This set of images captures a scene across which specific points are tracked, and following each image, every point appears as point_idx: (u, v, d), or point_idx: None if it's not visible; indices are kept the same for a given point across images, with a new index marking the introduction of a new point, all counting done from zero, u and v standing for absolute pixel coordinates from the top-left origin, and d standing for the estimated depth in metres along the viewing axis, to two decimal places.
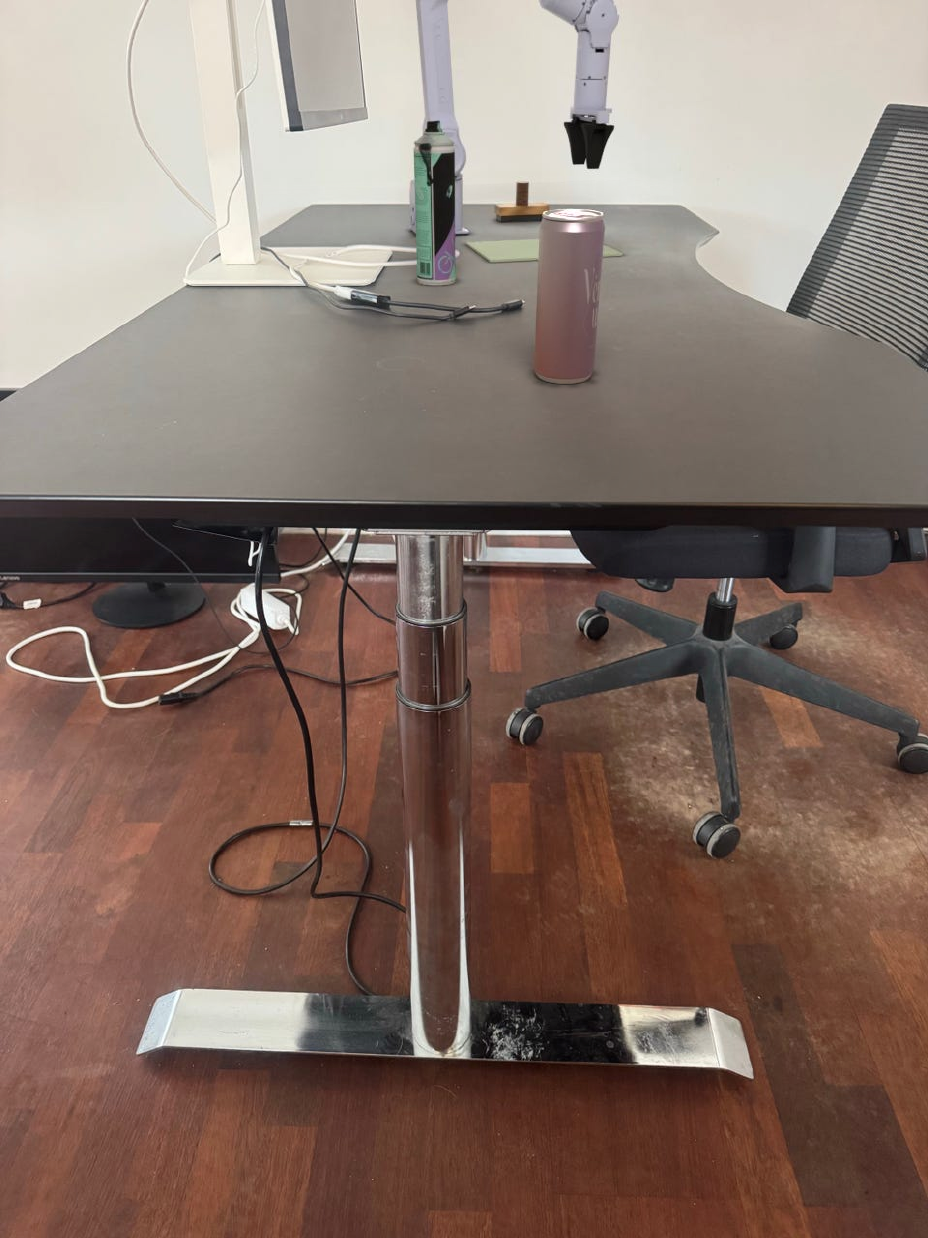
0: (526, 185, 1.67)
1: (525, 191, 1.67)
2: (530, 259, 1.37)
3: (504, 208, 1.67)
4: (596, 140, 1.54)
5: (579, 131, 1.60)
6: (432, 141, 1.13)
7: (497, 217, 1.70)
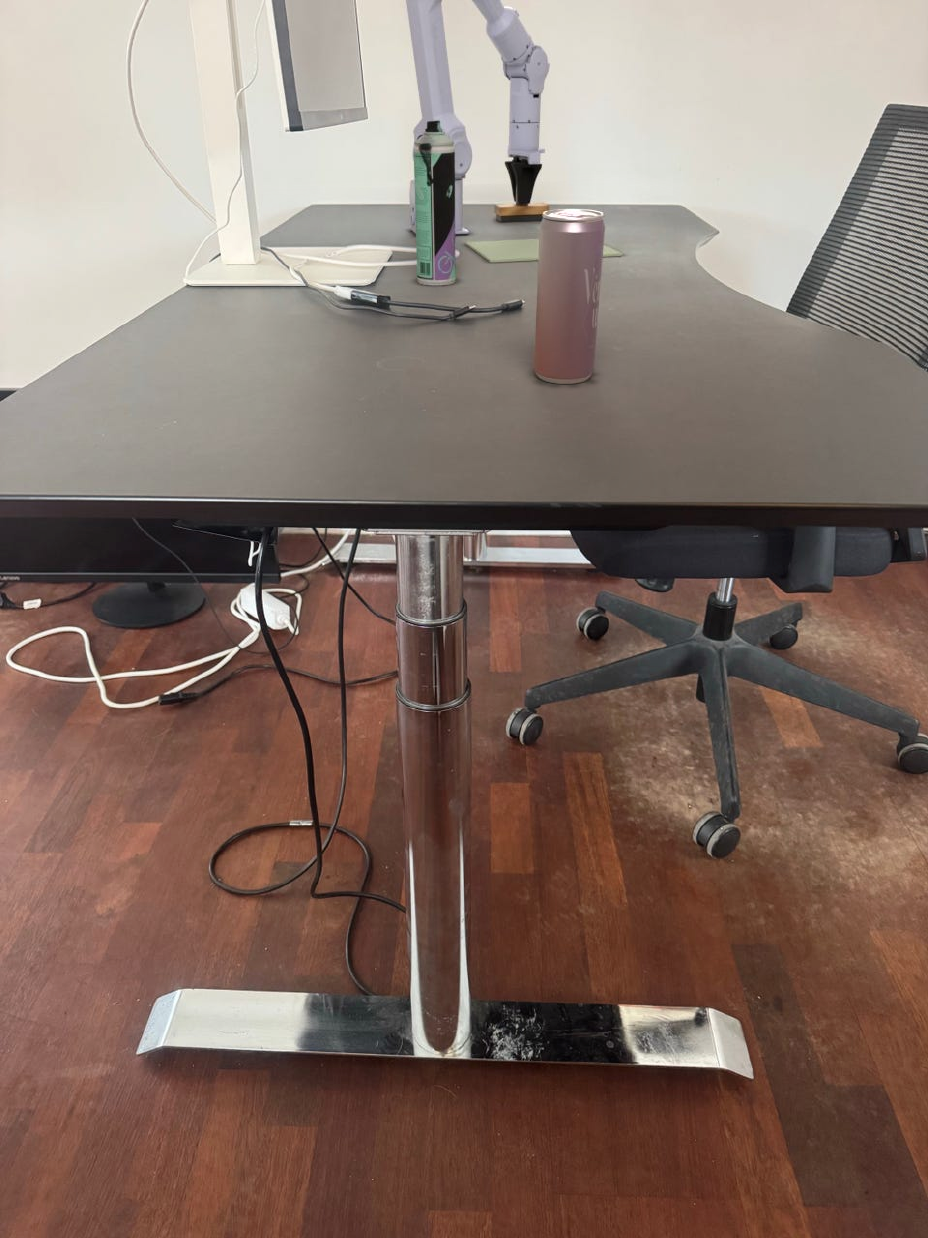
0: None
1: None
2: (530, 259, 1.37)
3: (504, 208, 1.67)
4: (526, 177, 1.65)
5: None
6: (432, 141, 1.13)
7: (497, 217, 1.70)
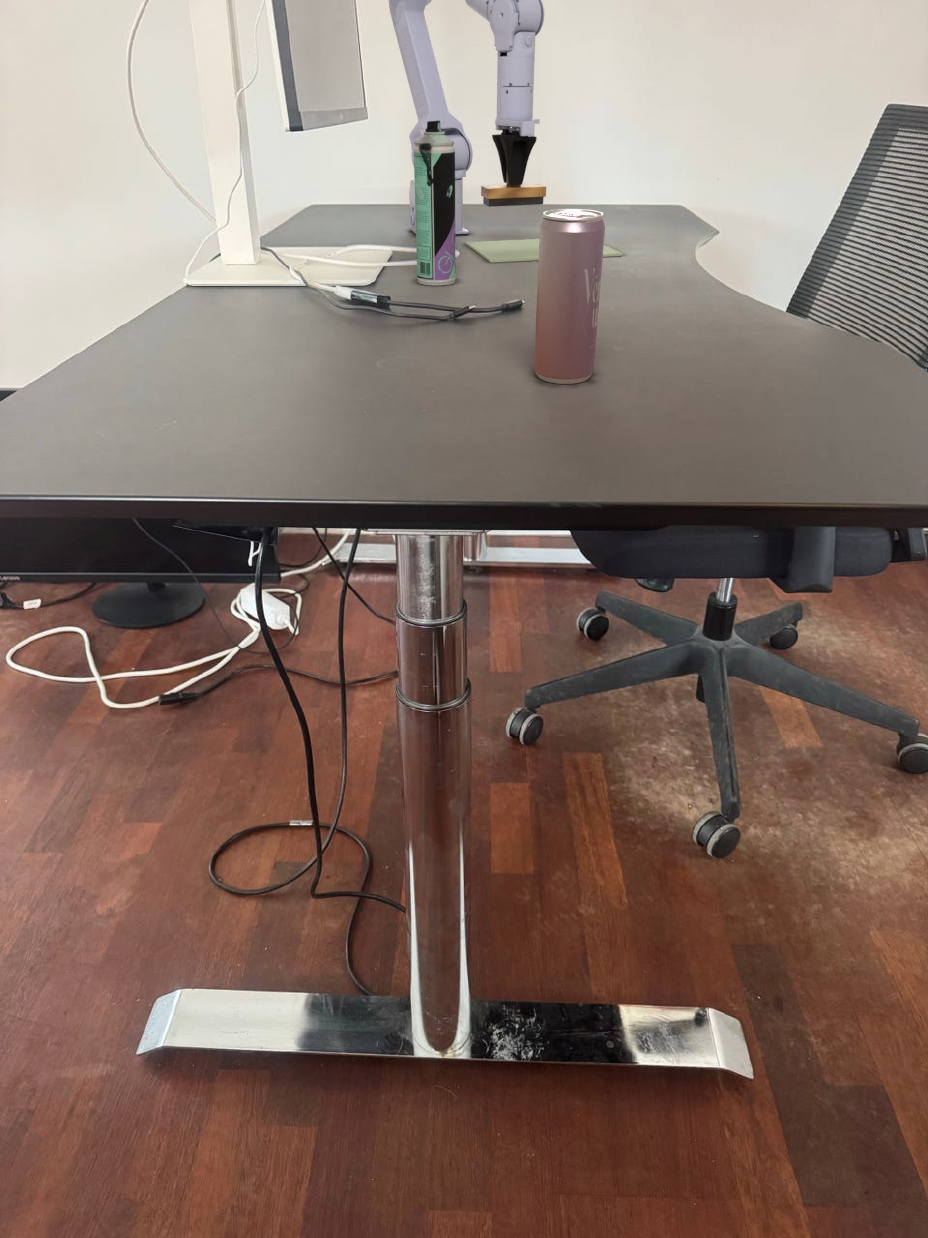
0: None
1: None
2: (530, 259, 1.37)
3: (492, 190, 1.41)
4: (517, 153, 1.39)
5: None
6: (432, 141, 1.13)
7: (484, 201, 1.44)
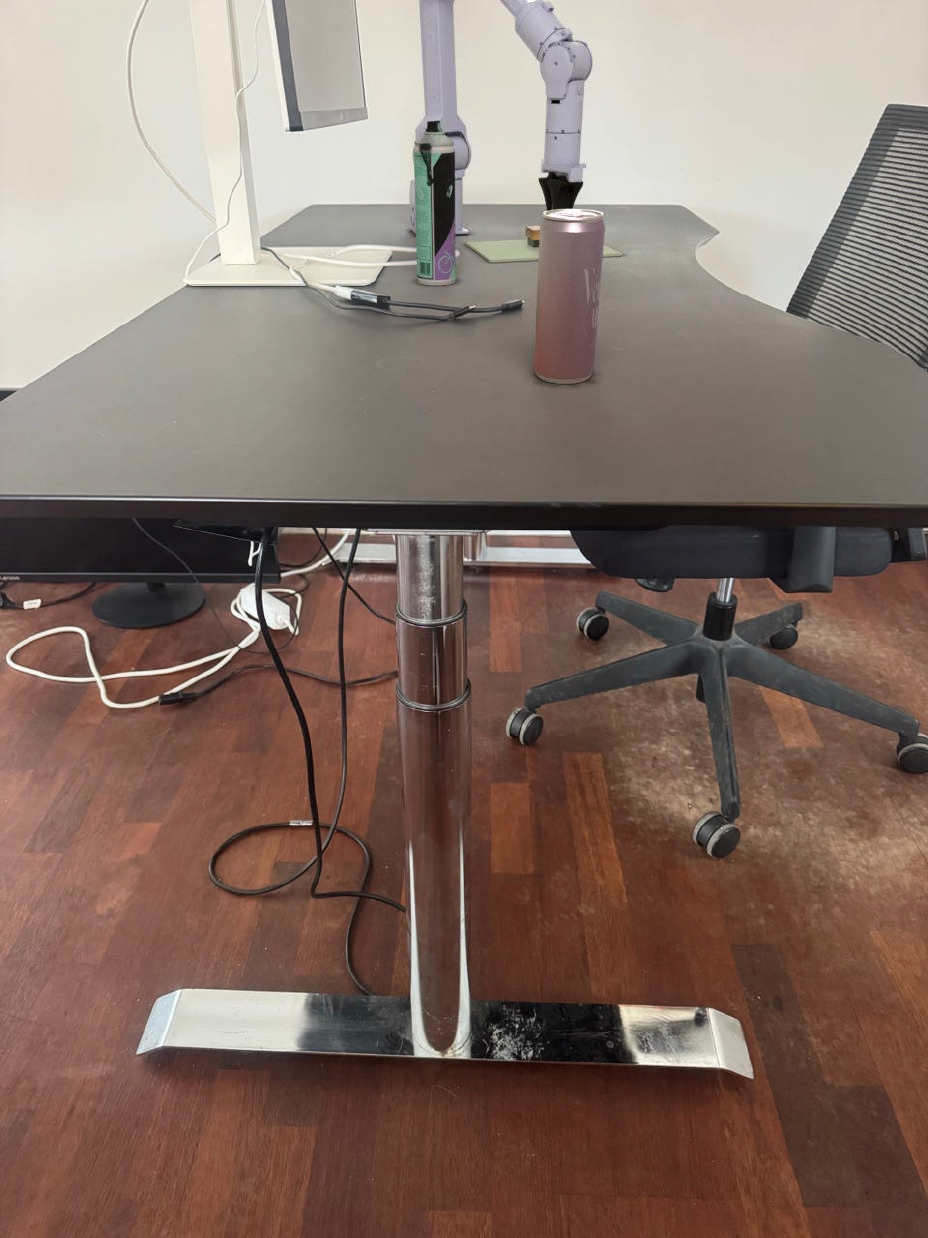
0: None
1: None
2: (530, 259, 1.37)
3: (538, 231, 1.43)
4: (564, 197, 1.41)
5: None
6: (432, 141, 1.13)
7: (529, 241, 1.46)
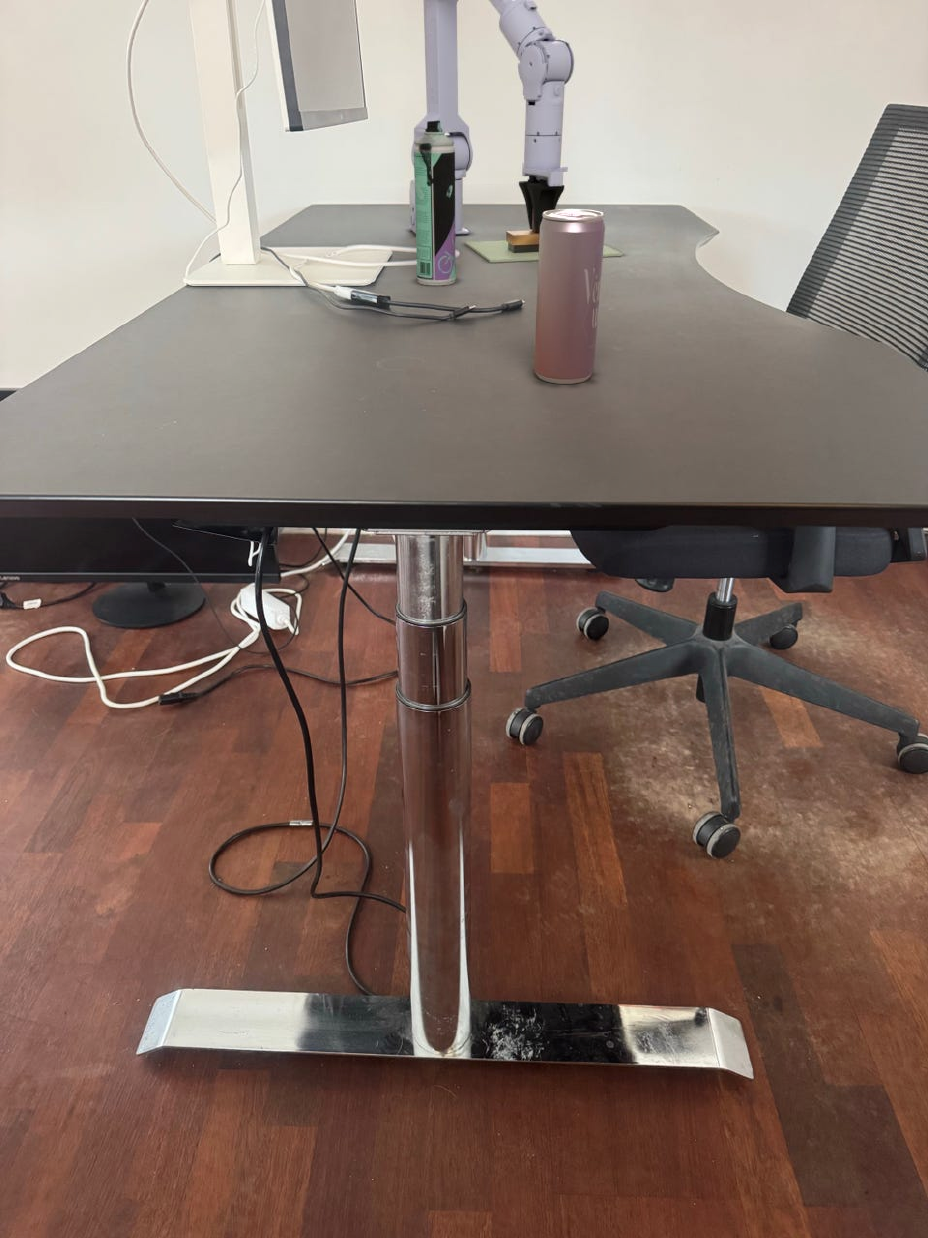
0: None
1: None
2: (530, 259, 1.37)
3: (518, 236, 1.39)
4: (545, 201, 1.37)
5: None
6: (432, 141, 1.13)
7: (509, 246, 1.42)
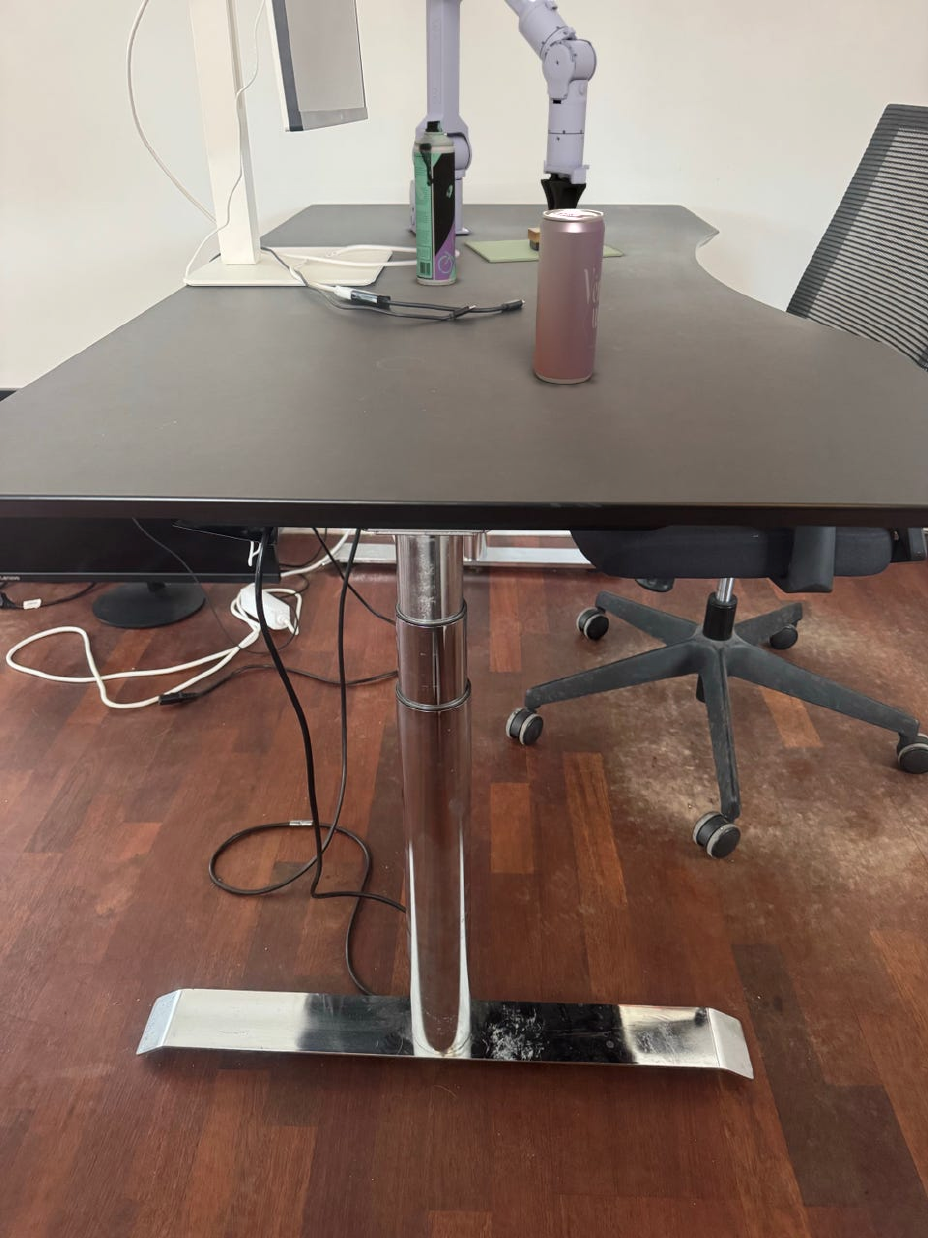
0: None
1: None
2: (530, 259, 1.37)
3: None
4: (567, 199, 1.38)
5: None
6: (432, 141, 1.13)
7: (531, 243, 1.43)
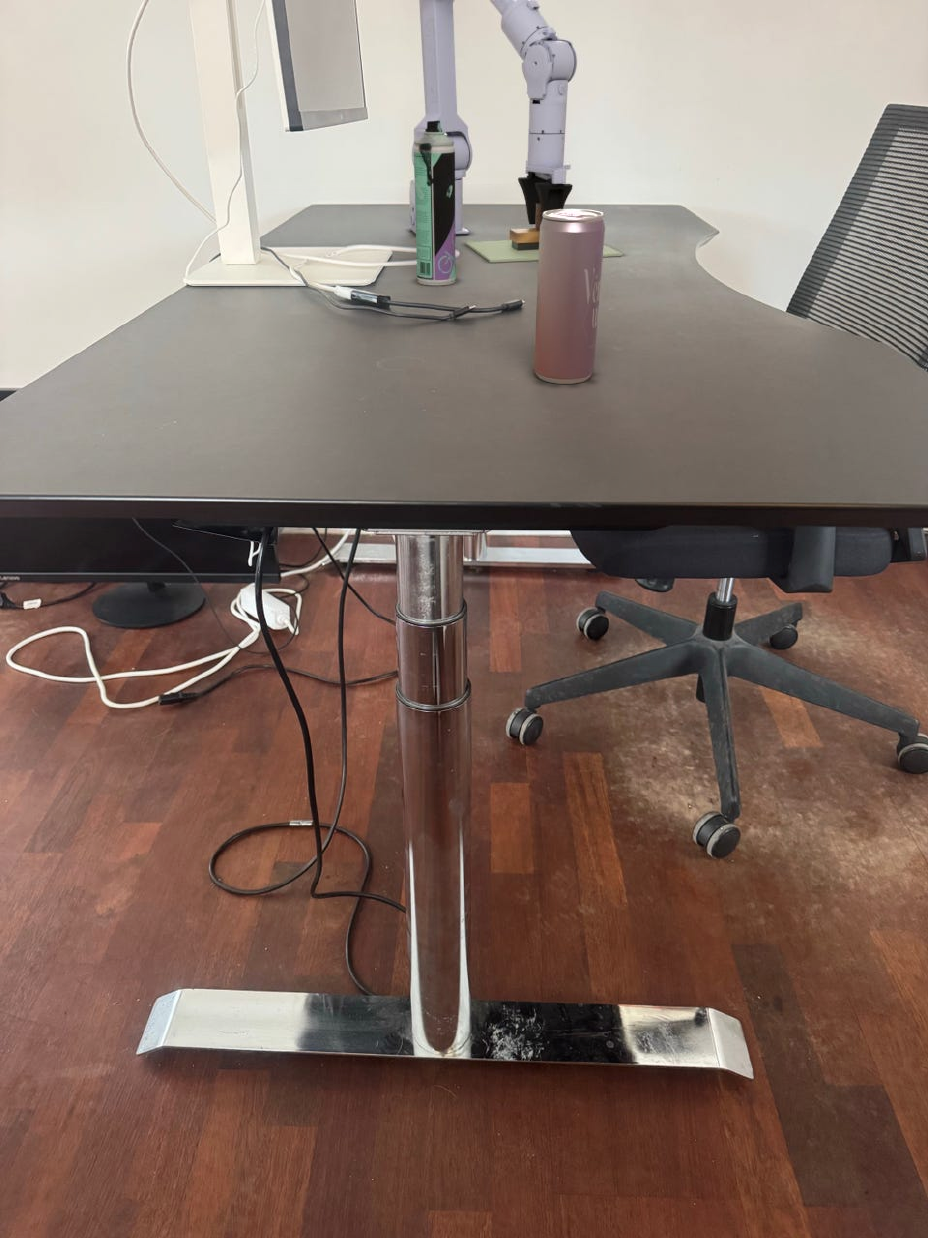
0: None
1: None
2: (530, 259, 1.37)
3: (522, 234, 1.40)
4: (553, 201, 1.37)
5: (535, 188, 1.43)
6: (432, 141, 1.13)
7: (513, 244, 1.44)
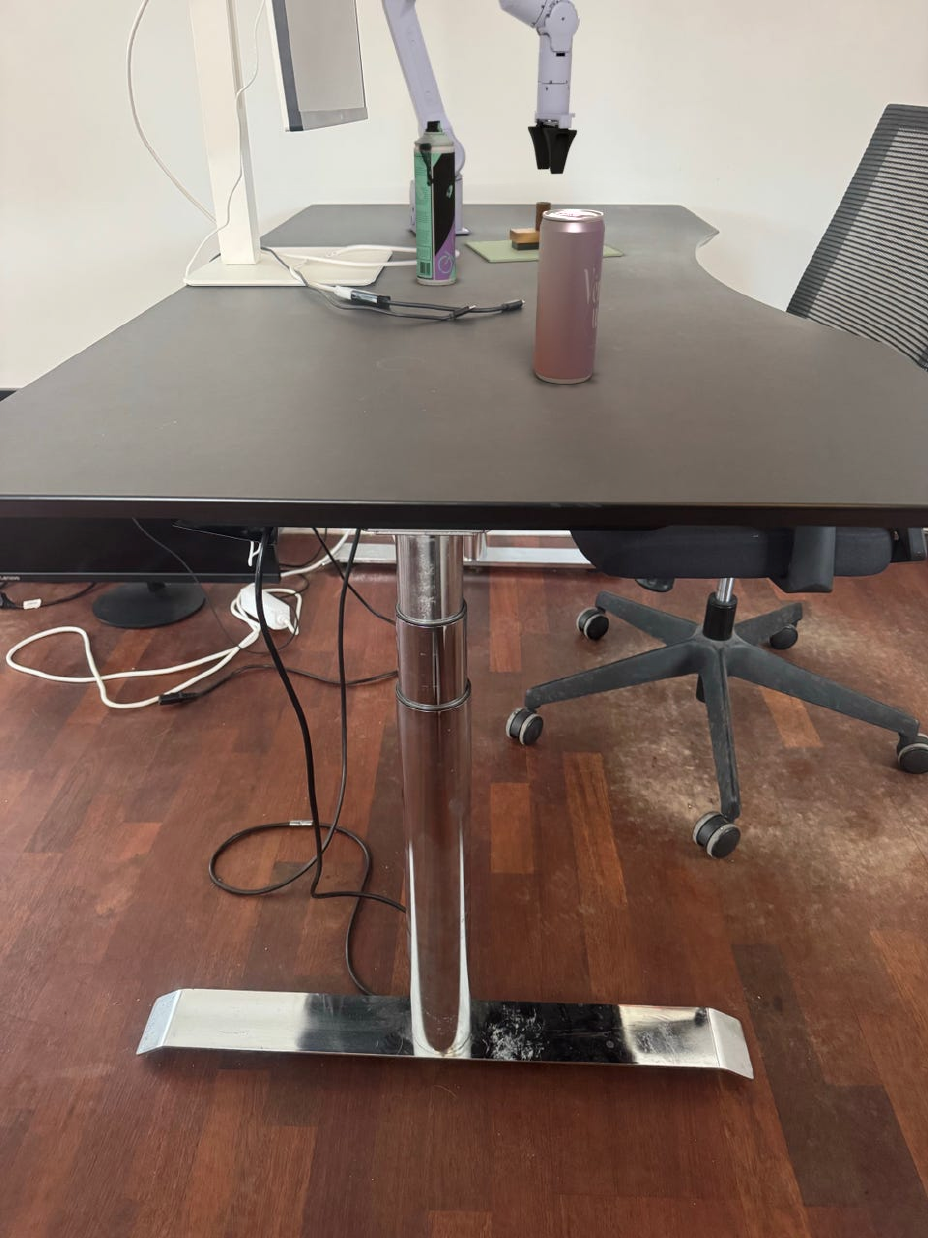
0: (548, 207, 1.40)
1: None
2: (530, 259, 1.37)
3: (522, 234, 1.40)
4: (559, 145, 1.52)
5: (543, 136, 1.58)
6: (432, 141, 1.13)
7: (513, 244, 1.44)
